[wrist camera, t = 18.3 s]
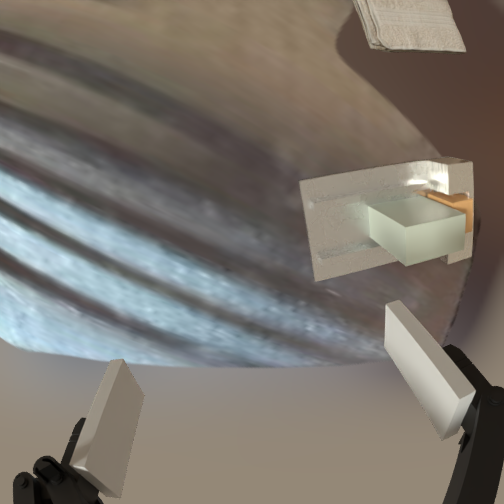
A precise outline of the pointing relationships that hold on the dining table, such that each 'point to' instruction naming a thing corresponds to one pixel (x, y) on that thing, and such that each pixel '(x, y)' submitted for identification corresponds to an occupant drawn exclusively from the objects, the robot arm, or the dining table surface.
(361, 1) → the washcloth
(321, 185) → the rail plate
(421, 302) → the dining table surface
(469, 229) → the orange rectangular block
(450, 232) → the block
